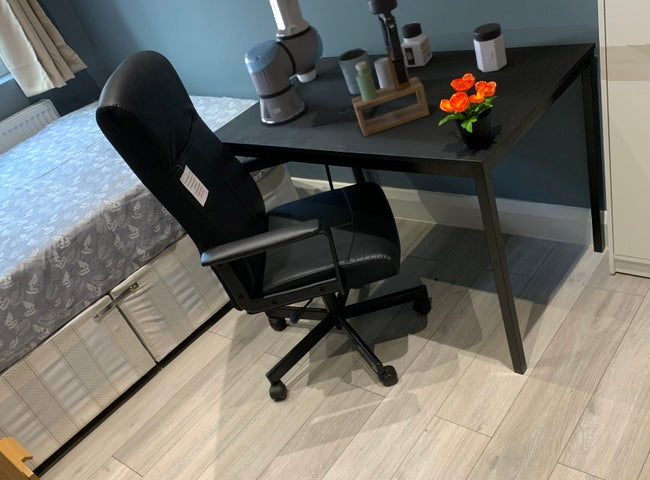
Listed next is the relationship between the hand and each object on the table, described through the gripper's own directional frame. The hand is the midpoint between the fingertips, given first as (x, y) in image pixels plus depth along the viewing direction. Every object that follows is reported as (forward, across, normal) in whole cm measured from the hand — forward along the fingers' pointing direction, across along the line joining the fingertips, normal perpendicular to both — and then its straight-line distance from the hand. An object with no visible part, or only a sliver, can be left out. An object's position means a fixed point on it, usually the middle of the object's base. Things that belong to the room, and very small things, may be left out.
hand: (401, 79), depth 180 cm
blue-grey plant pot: (+11, +34, +9) cm, 37 cm away
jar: (+11, +15, -31) cm, 36 cm away
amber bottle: (+2, 0, 0) cm, 2 cm away
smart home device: (+11, +16, +18) cm, 26 cm away
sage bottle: (+2, 0, +10) cm, 10 cm away
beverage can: (+11, +18, +2) cm, 22 cm away
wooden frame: (+11, 0, +5) cm, 12 cm away
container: (+11, +41, -13) cm, 45 cm away
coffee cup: (+12, +64, +25) cm, 69 cm away
